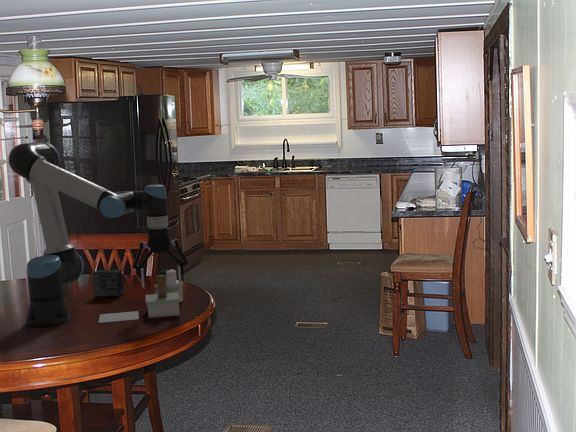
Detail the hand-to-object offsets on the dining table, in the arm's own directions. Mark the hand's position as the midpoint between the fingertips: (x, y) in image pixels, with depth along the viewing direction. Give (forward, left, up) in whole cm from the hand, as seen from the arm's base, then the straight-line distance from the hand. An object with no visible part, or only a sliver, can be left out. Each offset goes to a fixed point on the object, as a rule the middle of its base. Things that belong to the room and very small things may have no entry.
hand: (161, 285), depth 283 cm
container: (+3, +16, -11) cm, 20 cm away
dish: (0, 0, -11) cm, 11 cm away
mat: (-16, 0, -11) cm, 19 cm away
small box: (-20, +38, -11) cm, 44 cm away
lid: (0, 0, -6) cm, 6 cm away
